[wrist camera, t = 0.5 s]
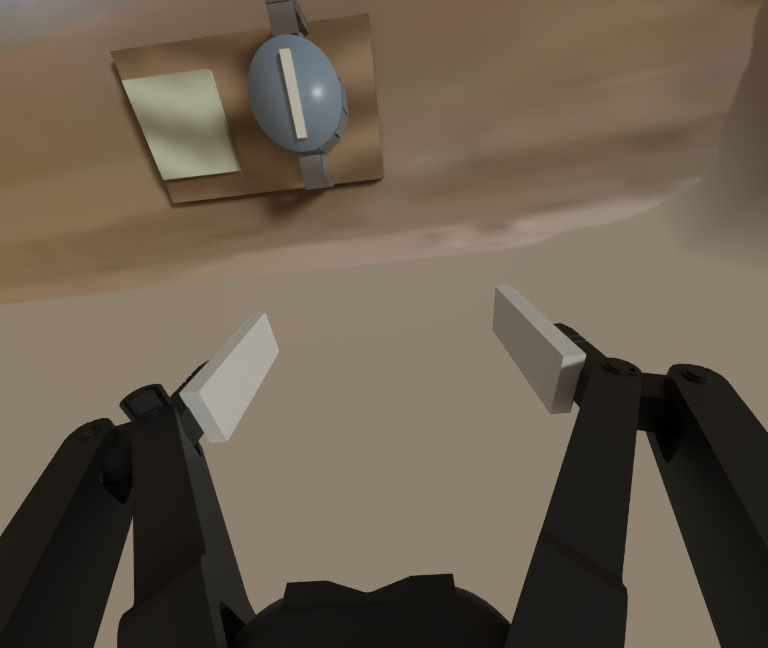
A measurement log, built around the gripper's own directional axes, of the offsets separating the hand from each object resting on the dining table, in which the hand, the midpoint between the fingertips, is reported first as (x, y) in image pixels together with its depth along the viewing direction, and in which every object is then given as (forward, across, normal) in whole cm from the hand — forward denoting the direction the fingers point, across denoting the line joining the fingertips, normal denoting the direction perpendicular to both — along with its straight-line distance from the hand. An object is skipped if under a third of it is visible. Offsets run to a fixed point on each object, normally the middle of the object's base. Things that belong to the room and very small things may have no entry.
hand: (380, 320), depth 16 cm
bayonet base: (+24, -12, +14) cm, 30 cm away
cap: (+21, -6, +14) cm, 26 cm away
